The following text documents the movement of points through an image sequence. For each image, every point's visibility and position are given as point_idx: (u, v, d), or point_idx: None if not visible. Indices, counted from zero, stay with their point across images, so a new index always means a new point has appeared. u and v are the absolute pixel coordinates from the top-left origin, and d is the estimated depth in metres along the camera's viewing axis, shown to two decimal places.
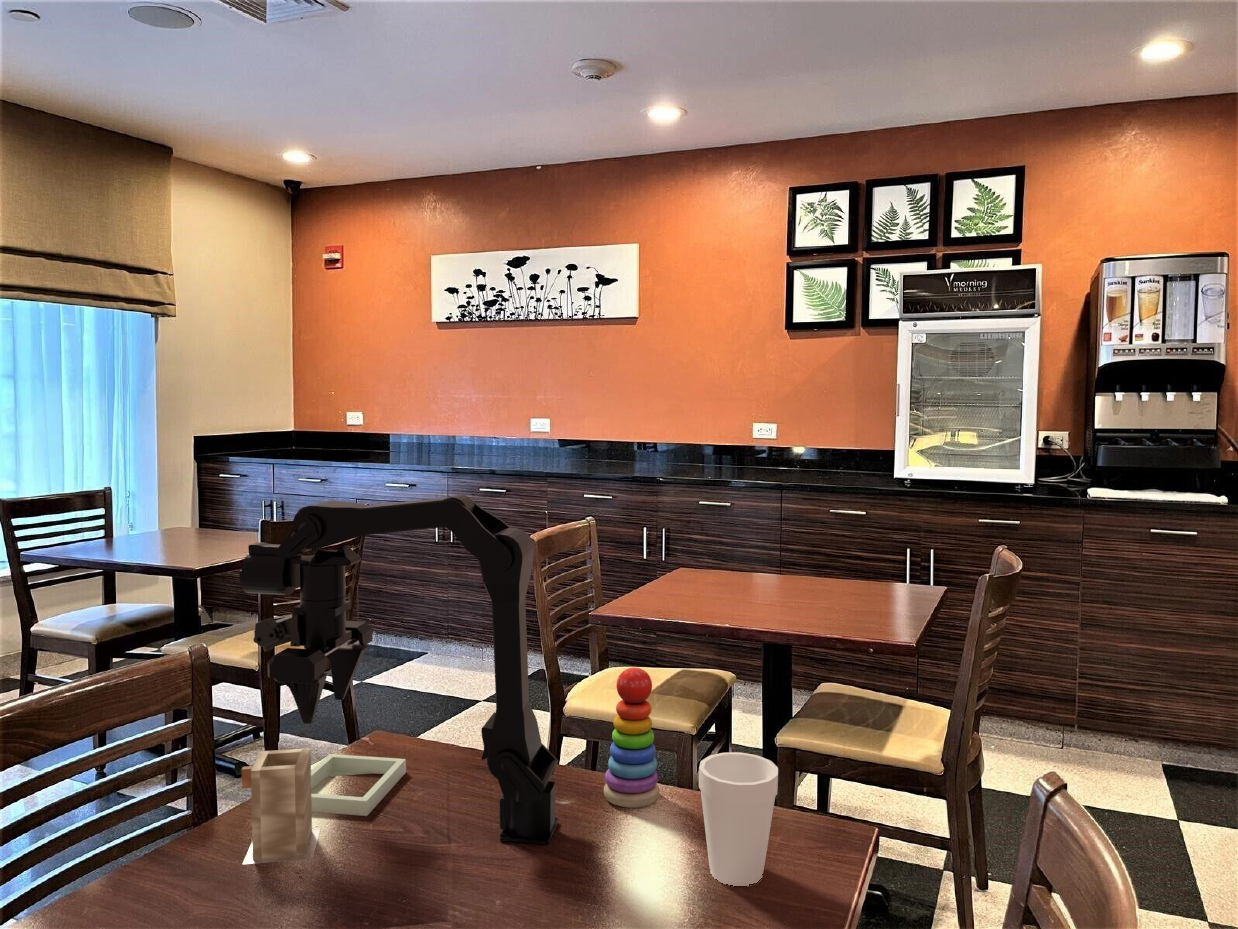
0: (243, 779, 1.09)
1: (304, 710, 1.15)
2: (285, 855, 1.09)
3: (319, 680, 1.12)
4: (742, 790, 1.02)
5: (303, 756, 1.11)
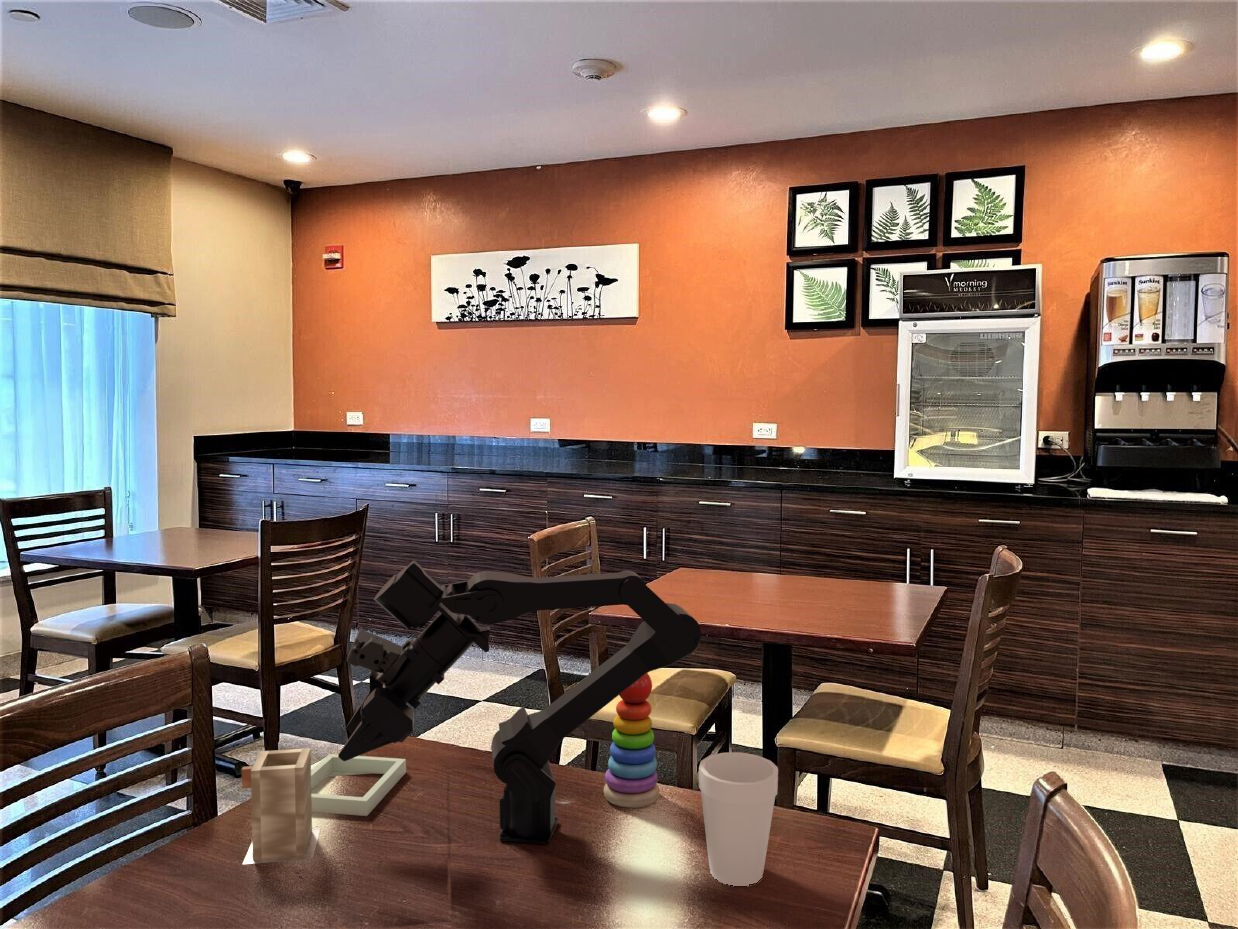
0: (243, 779, 1.09)
1: (351, 748, 1.07)
2: (285, 855, 1.09)
3: None
4: (742, 790, 1.02)
5: (303, 756, 1.11)
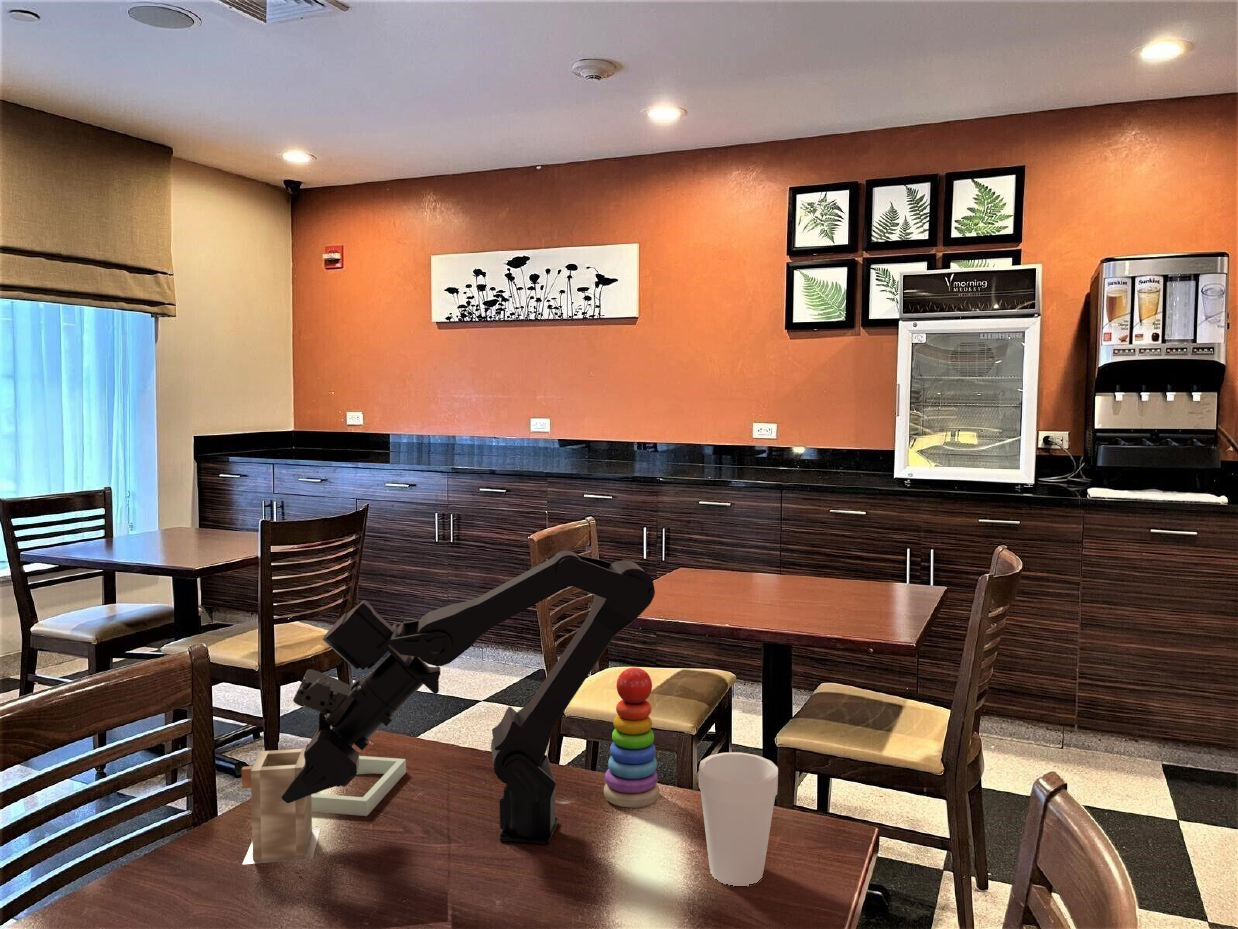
0: (243, 779, 1.09)
1: (295, 790, 1.06)
2: (285, 855, 1.09)
3: None
4: (742, 790, 1.02)
5: (303, 756, 1.11)
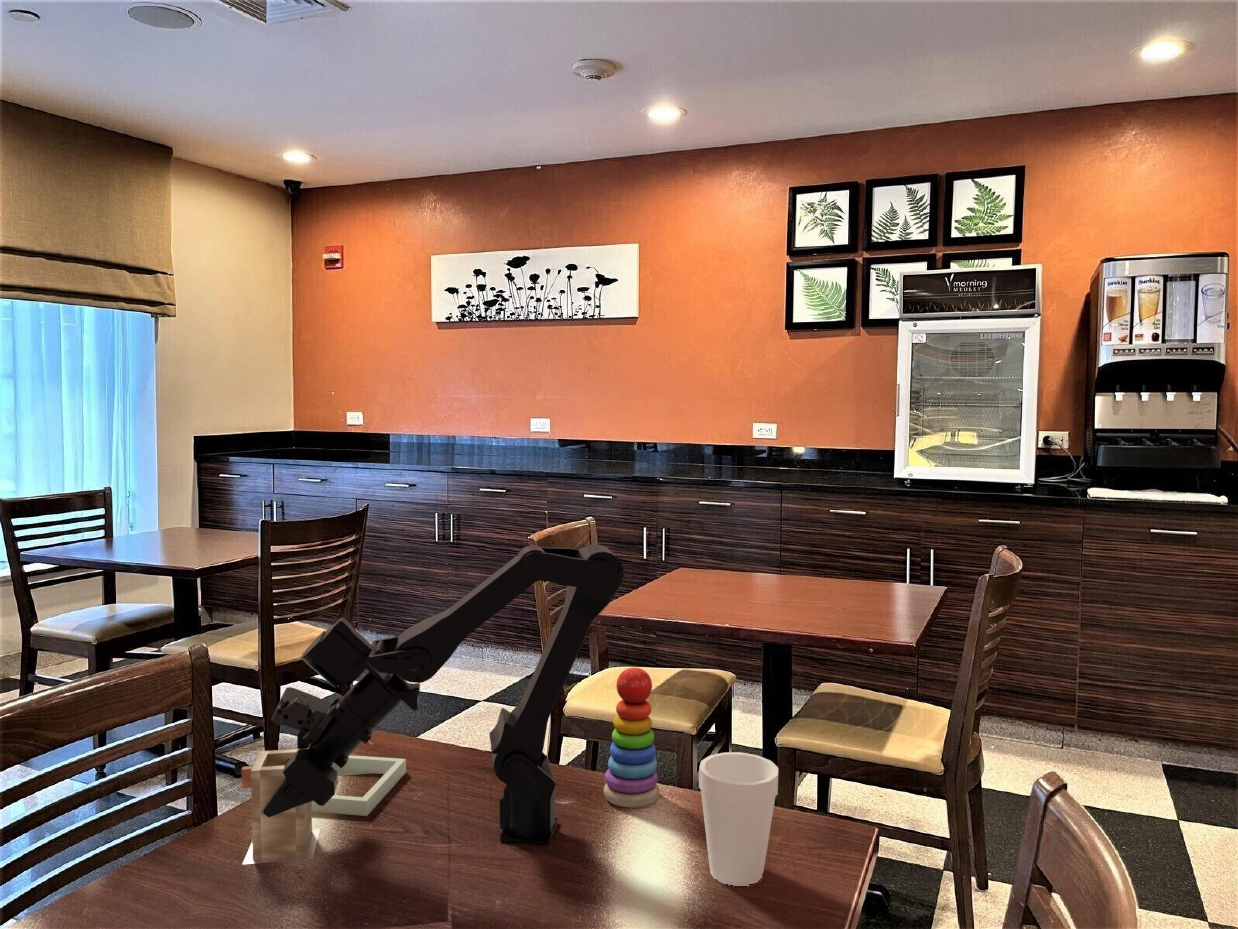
0: (243, 779, 1.09)
1: (276, 804, 1.07)
2: (285, 855, 1.09)
3: None
4: (742, 790, 1.02)
5: None
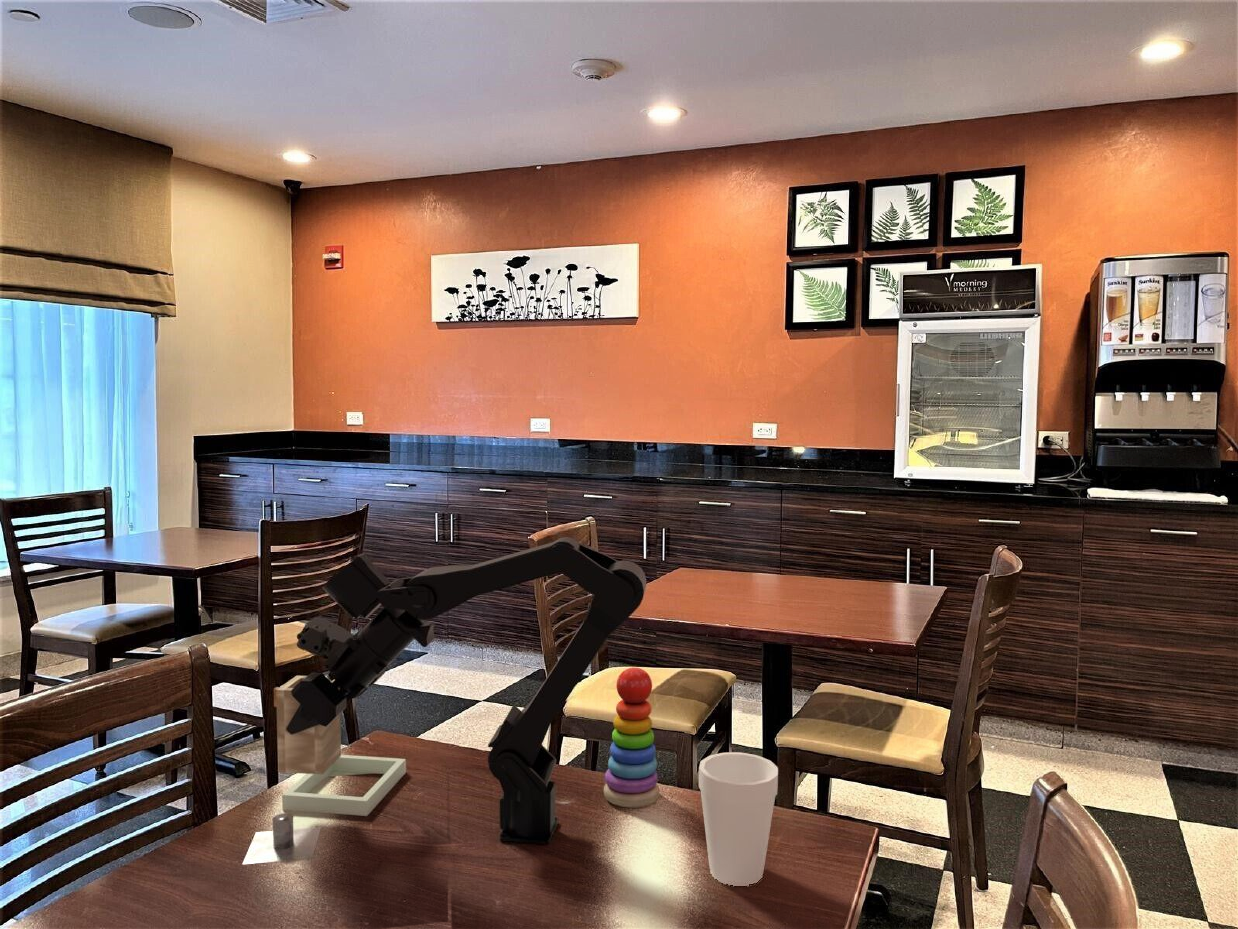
0: (275, 698, 1.18)
1: (296, 723, 1.15)
2: (306, 772, 1.16)
3: None
4: (742, 790, 1.02)
5: None
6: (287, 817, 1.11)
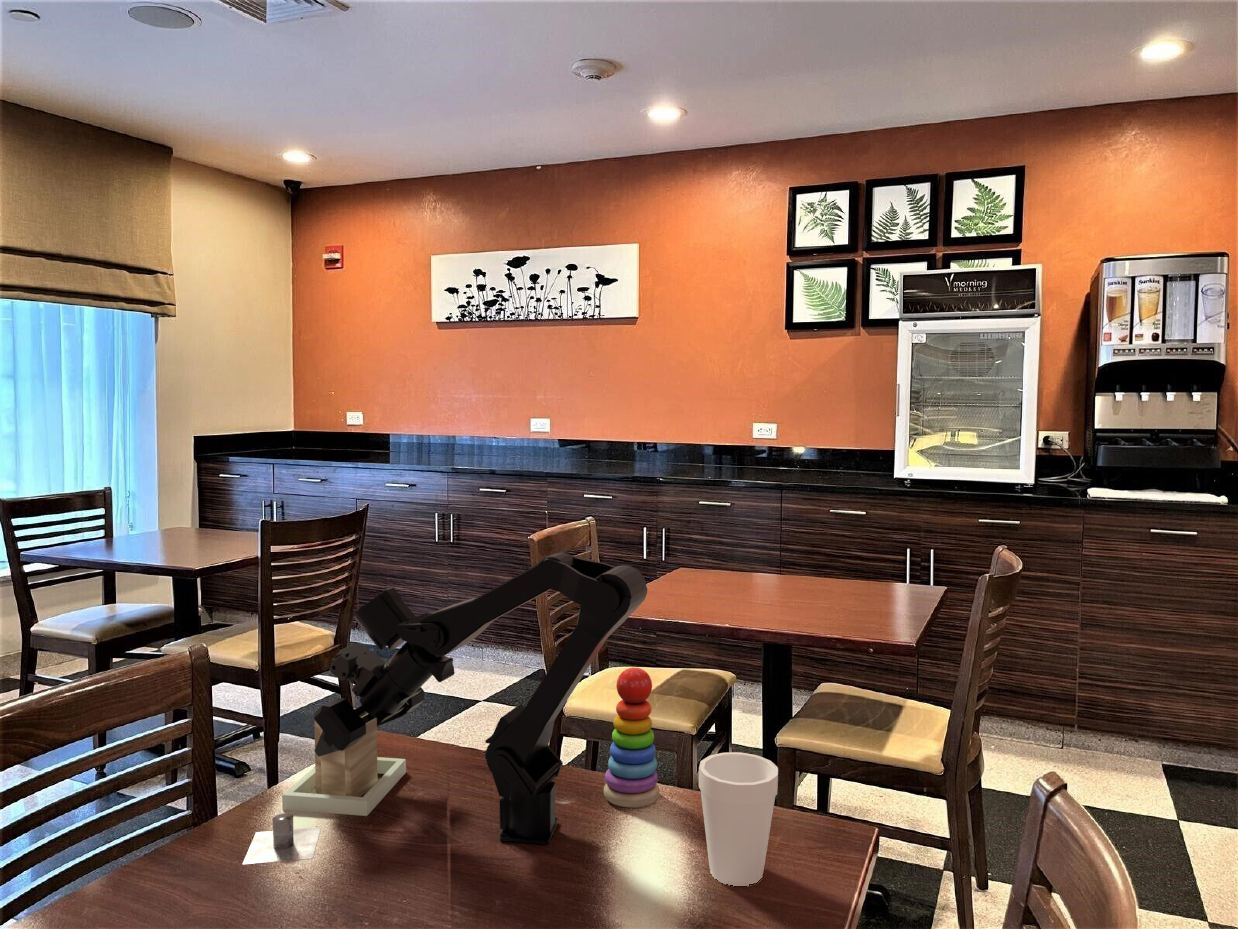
0: None
1: (321, 746, 1.21)
2: None
3: None
4: (742, 790, 1.02)
5: None
6: (287, 817, 1.11)
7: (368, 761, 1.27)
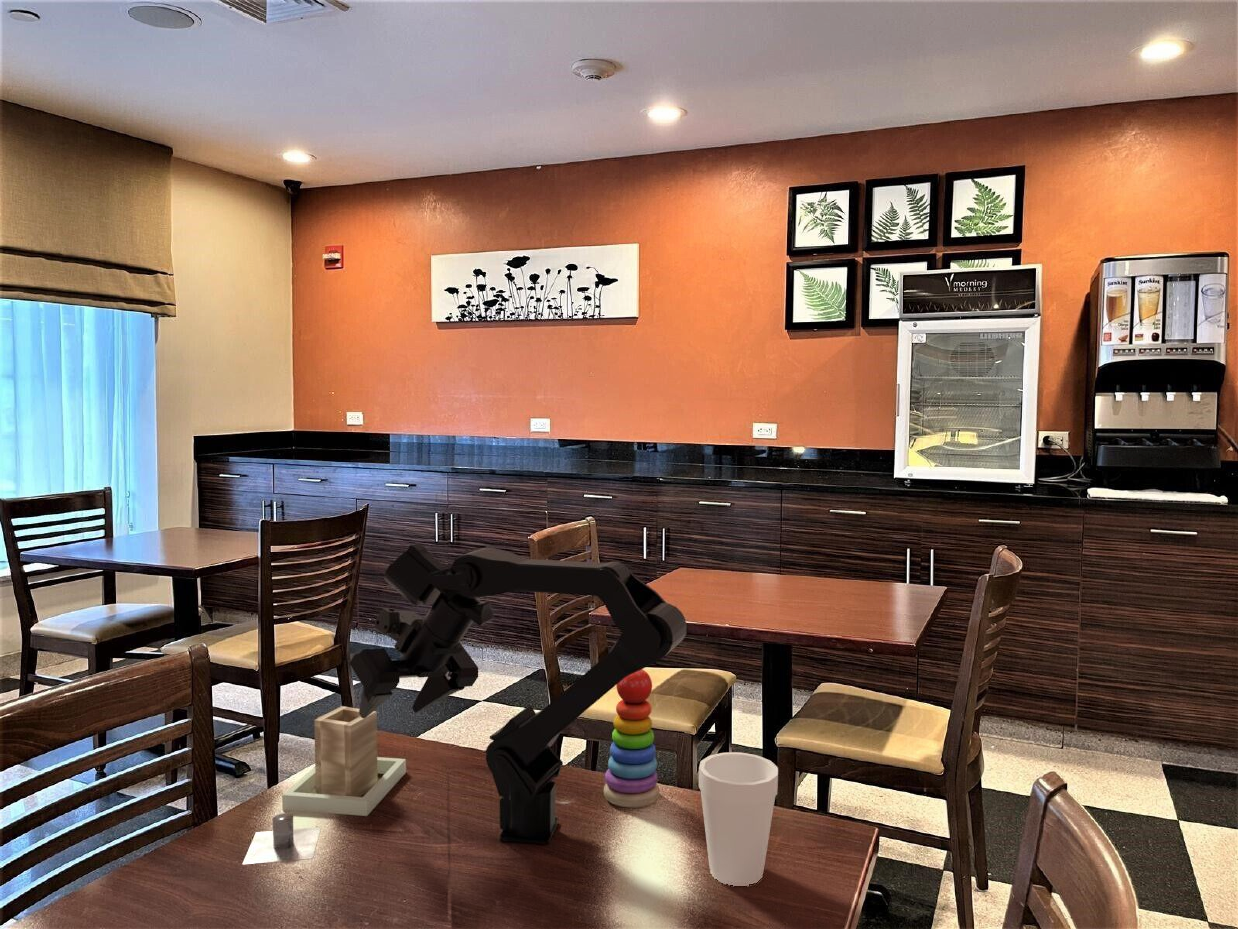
0: None
1: (363, 705, 1.19)
2: None
3: (379, 696, 1.15)
4: (742, 790, 1.02)
5: None
6: (287, 817, 1.11)
7: (368, 761, 1.27)
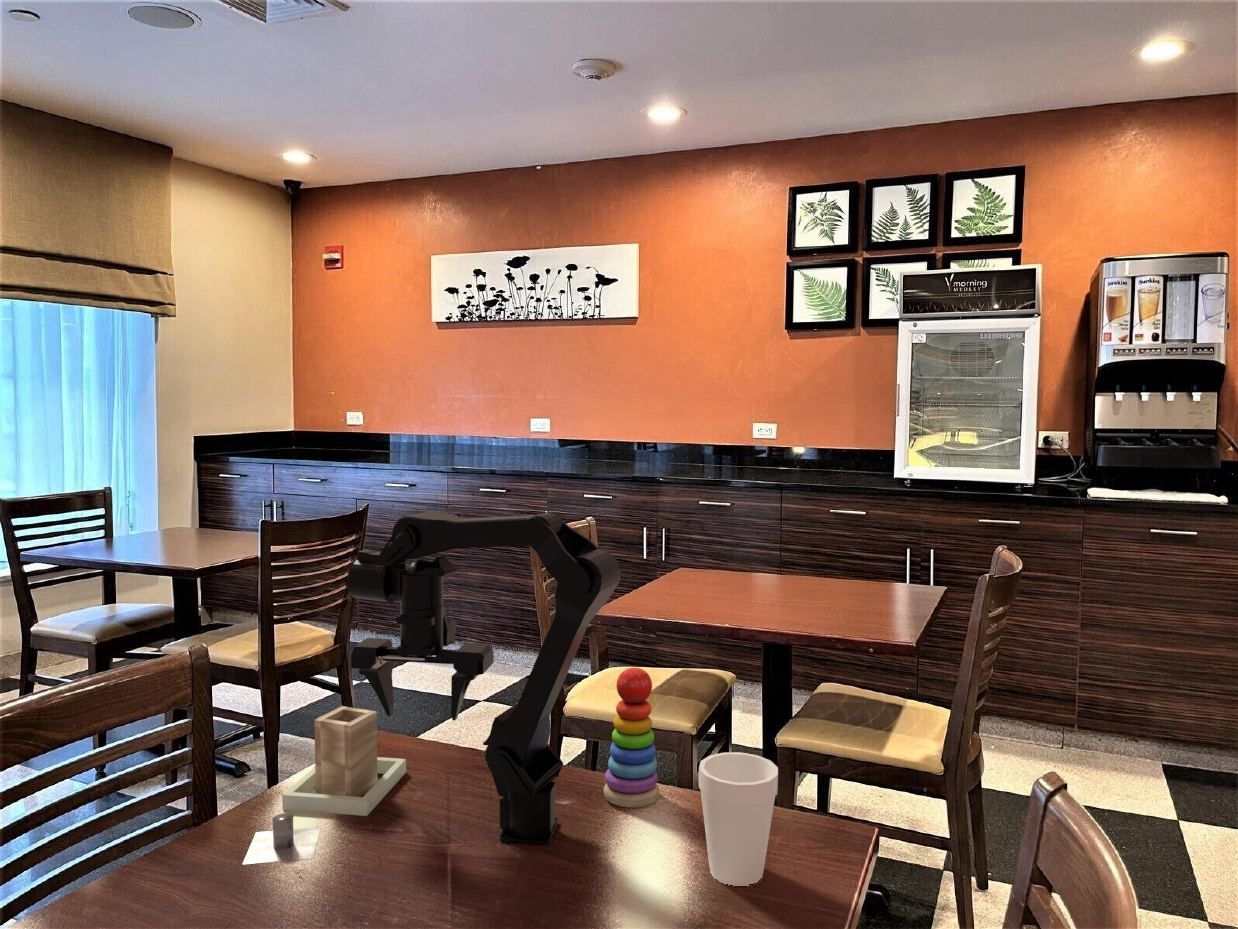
0: None
1: None
2: None
3: (363, 673, 1.20)
4: (742, 790, 1.02)
5: (363, 717, 1.26)
6: (287, 817, 1.11)
7: (368, 761, 1.27)
